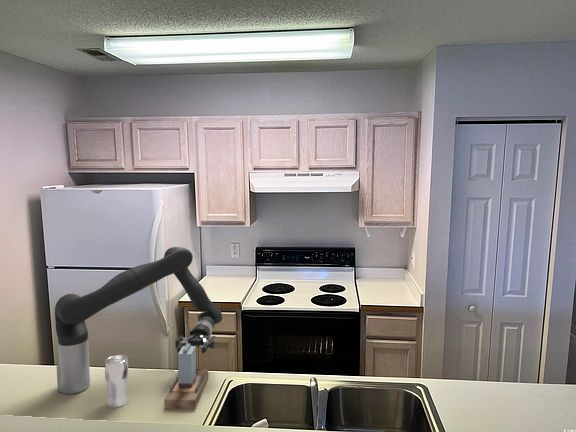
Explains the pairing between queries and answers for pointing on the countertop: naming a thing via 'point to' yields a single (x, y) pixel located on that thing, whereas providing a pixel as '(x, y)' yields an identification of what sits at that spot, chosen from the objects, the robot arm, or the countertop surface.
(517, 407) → the countertop surface
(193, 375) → the blue rectangular block
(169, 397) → the dock
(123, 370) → the beer glass
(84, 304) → the robot arm
